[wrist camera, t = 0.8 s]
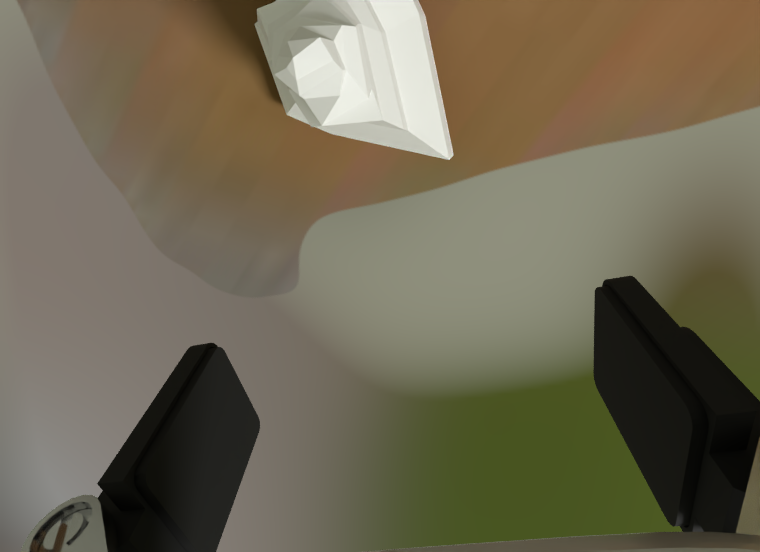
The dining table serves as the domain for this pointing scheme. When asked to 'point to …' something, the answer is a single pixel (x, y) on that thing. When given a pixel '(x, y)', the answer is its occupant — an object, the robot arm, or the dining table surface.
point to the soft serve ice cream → (358, 70)
